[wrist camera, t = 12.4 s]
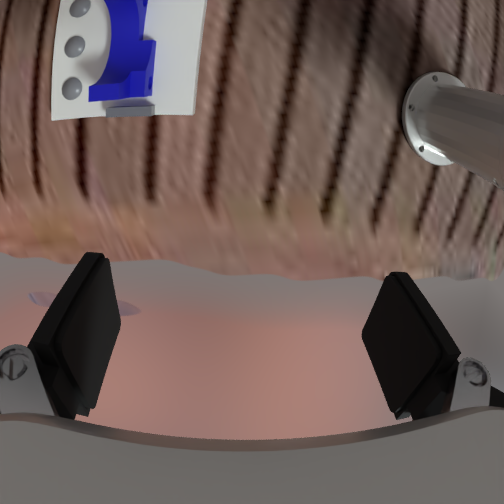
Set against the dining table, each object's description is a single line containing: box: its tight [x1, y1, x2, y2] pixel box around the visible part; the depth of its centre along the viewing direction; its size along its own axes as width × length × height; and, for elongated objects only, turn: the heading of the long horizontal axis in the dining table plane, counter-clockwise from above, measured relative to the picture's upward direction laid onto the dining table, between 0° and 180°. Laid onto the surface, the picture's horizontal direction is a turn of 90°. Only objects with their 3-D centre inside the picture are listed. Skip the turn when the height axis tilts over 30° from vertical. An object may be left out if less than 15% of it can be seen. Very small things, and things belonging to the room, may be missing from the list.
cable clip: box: [88, 0, 156, 102], centre depth 21 cm, size 12×4×6 cm, turn 174°
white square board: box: [51, 0, 207, 121], centre depth 24 cm, size 17×17×4 cm
